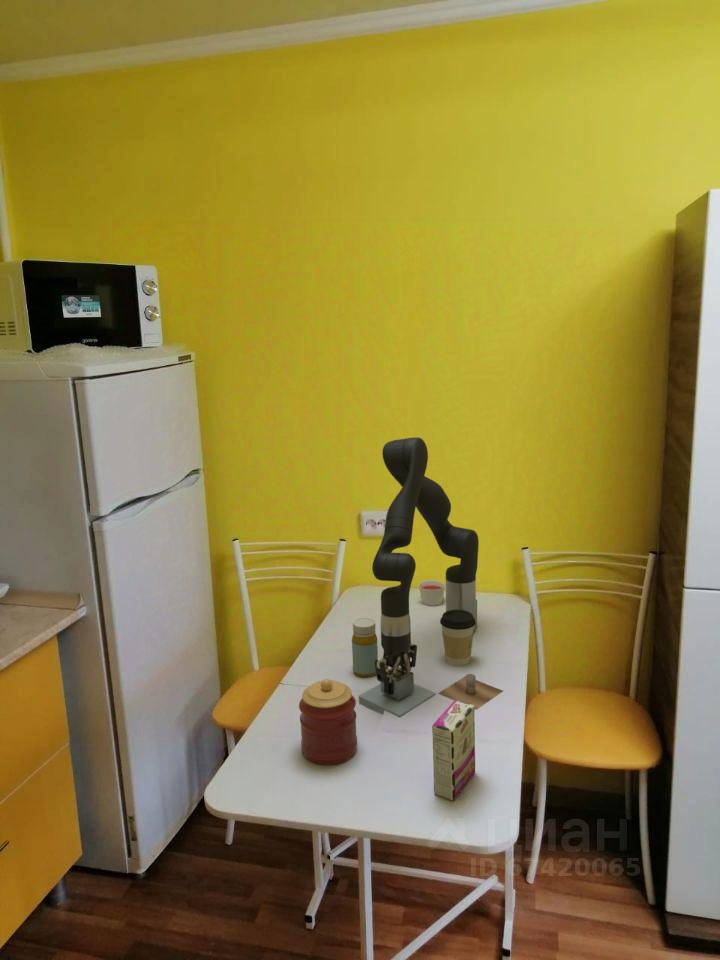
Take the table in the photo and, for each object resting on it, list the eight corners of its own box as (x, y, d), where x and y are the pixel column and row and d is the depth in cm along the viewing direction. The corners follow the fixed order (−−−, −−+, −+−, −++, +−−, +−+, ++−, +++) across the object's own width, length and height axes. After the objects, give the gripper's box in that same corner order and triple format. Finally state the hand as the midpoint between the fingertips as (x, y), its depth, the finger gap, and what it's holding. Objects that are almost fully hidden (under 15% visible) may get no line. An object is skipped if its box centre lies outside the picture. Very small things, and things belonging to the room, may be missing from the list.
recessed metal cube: (396, 683, 190) (395, 665, 189) (413, 690, 186) (413, 673, 185) (380, 692, 186) (380, 674, 185) (398, 700, 182) (398, 681, 181)
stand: (465, 681, 196) (465, 660, 194) (503, 696, 187) (503, 674, 186) (438, 698, 187) (437, 677, 186) (476, 715, 179) (476, 693, 178)
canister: (304, 733, 174) (300, 666, 170) (358, 733, 173) (356, 665, 169) (298, 766, 161) (294, 695, 157) (356, 766, 160) (353, 694, 156)
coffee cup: (482, 663, 205) (482, 614, 201) (462, 677, 198) (462, 626, 194) (453, 653, 211) (453, 605, 208) (433, 666, 204) (432, 616, 201)
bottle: (348, 675, 201) (346, 625, 197) (360, 664, 207) (358, 615, 203) (371, 680, 198) (369, 629, 194) (382, 669, 204) (381, 619, 200)
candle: (419, 597, 254) (419, 580, 253) (445, 597, 253) (444, 580, 252) (418, 607, 245) (418, 589, 244) (445, 607, 244) (445, 590, 243)
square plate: (394, 682, 196) (394, 655, 194) (435, 700, 186) (435, 671, 185) (358, 703, 186) (357, 674, 185) (400, 722, 177) (399, 693, 175)
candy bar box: (454, 766, 159) (454, 698, 156) (475, 772, 157) (476, 704, 153) (432, 794, 150) (431, 723, 146) (454, 802, 148) (453, 730, 144)
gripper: (403, 615, 189) (404, 674, 193) (365, 634, 179) (367, 695, 183) (425, 623, 184) (426, 683, 188) (387, 642, 174) (389, 705, 178)
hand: (397, 689), depth 186 cm, fingers closed on recessed metal cube, 6 cm apart
